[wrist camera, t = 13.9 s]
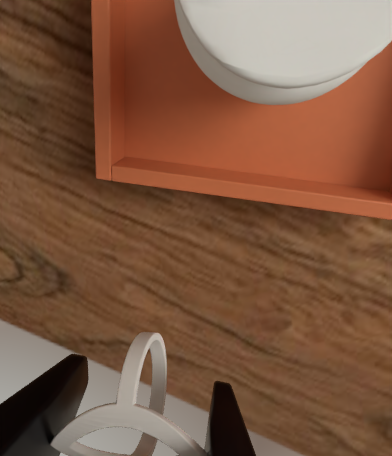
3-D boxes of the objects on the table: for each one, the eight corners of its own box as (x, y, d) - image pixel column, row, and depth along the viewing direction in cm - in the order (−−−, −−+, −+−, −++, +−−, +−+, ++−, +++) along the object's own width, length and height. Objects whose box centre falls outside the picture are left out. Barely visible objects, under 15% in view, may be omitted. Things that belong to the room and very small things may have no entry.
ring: (147, 296, 9) (105, 394, 7) (222, 351, 10) (211, 462, 7) (98, 344, 10) (46, 445, 8) (168, 392, 11) (141, 501, 8)
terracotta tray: (114, 165, 15) (95, 179, 13) (112, -224, 10) (81, -288, 8) (395, 203, 14) (416, 224, 12) (543, -213, 9) (616, -284, 7)
